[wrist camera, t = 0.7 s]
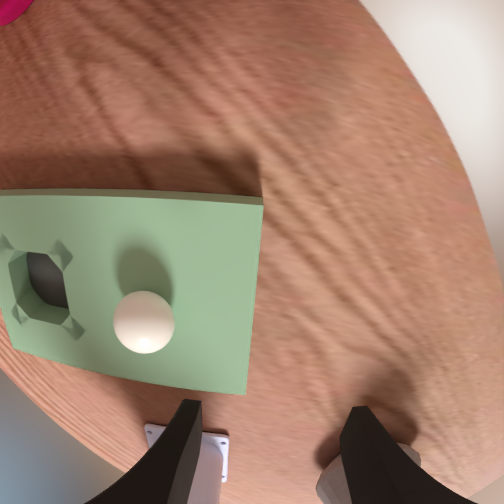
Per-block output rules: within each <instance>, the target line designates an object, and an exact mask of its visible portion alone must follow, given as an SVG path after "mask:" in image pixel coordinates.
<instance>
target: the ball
mask: <svg viewBox="0 0 504 504" xmlns="http://www.w3.org/2000/svg"><path fill="white" fill-rule="evenodd" d="M113 327H114V331H115V333H116V336H117V337H118V339H119V340H120V342H121V343H122V344H123V345H124V346H125V347H127V348H128V349H130V350H132V351H134V352H137V353H143V354H147V353H153V352H156V351H158V350H160V349H162V348H163V347H164V346H165V345H166V344H167V343H168V342H169V341H170V339H171V337H172V335H173V332H174V328H175V319H174V314H173V311H172V309H171V307H170V305H169V304H168V303H167V302H166V300H165V299H163V298H162V297H161V296H159V295H158V294H156V293H153V292H150V291H136V292H132V293H130V294H128V295H126V296H125V297H124V298H123V299H122V300H121V301H120V302H119V303H118V305H117V306H116V309H115V311H114V315H113Z"/></svg>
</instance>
